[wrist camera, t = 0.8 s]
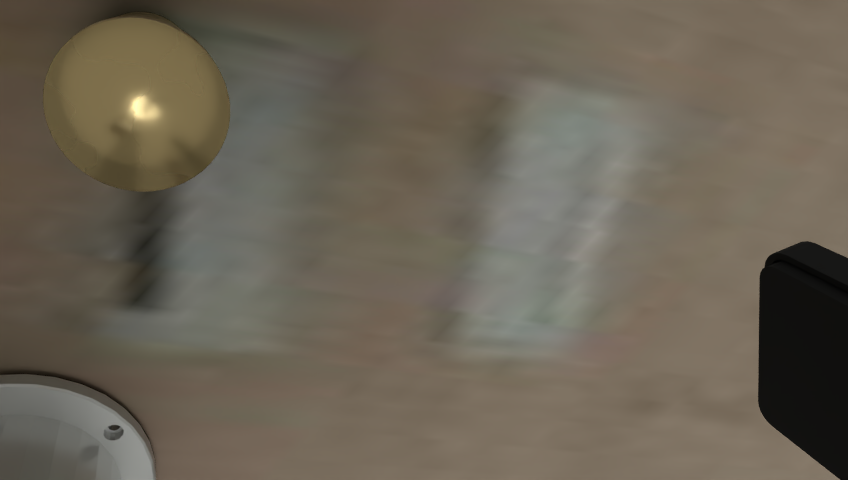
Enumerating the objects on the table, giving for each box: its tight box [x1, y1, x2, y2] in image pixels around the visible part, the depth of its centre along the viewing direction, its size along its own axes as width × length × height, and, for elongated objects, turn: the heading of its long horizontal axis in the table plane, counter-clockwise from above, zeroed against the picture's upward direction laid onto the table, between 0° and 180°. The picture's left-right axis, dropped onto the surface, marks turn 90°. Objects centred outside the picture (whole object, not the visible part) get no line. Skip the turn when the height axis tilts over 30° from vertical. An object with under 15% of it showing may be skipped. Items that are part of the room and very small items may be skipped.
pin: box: [43, 12, 230, 191], centre depth 24 cm, size 5×5×10 cm
